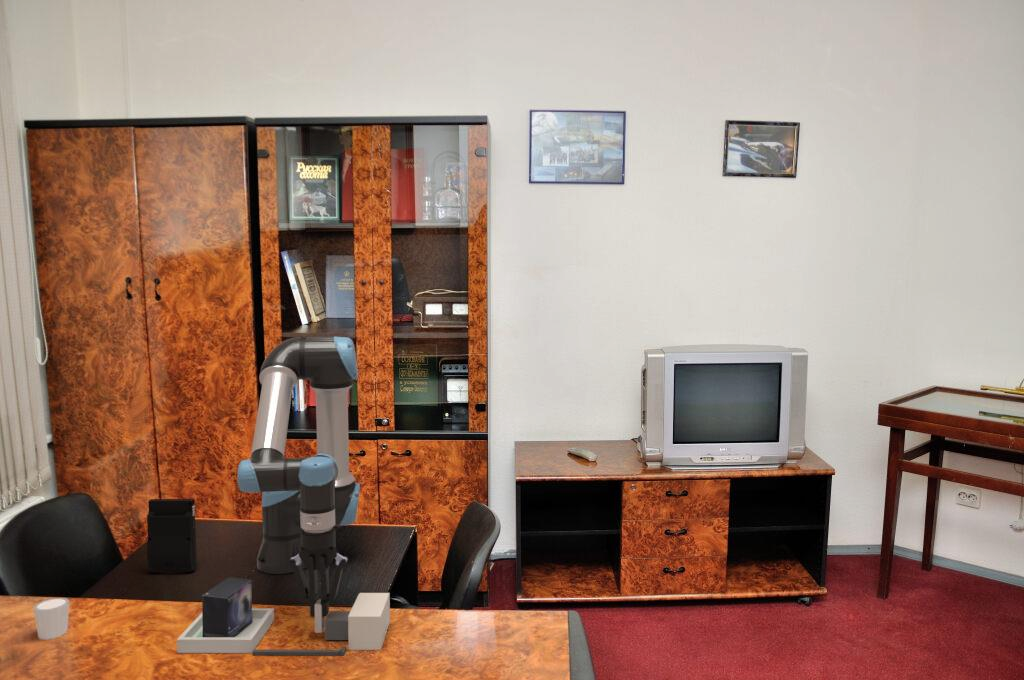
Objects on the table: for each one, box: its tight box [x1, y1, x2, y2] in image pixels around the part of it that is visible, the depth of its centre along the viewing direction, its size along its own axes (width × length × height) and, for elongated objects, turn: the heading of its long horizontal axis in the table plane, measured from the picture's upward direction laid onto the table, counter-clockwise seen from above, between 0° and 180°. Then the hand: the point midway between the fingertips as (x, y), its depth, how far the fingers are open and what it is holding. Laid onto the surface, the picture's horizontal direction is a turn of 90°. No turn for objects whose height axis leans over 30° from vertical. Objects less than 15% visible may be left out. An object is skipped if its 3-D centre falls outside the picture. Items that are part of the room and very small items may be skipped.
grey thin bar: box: [251, 645, 347, 657], centre depth 157 cm, size 2×20×1 cm, turn 90°
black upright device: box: [146, 498, 198, 575], centre depth 199 cm, size 12×5×20 cm, turn 92°
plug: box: [324, 610, 351, 641], centre depth 164 cm, size 4×10×4 cm, turn 90°
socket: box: [347, 592, 391, 651], centre depth 164 cm, size 12×7×8 cm, turn 0°
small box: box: [201, 576, 253, 637], centre depth 164 cm, size 11×6×10 cm, turn 169°
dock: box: [176, 607, 275, 654], centre depth 164 cm, size 15×16×3 cm
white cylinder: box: [33, 597, 70, 641], centre depth 165 cm, size 7×7×7 cm
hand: (319, 629), depth 164 cm, fingers closed
